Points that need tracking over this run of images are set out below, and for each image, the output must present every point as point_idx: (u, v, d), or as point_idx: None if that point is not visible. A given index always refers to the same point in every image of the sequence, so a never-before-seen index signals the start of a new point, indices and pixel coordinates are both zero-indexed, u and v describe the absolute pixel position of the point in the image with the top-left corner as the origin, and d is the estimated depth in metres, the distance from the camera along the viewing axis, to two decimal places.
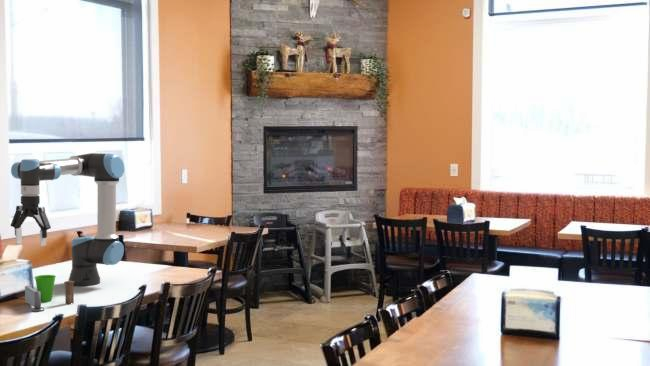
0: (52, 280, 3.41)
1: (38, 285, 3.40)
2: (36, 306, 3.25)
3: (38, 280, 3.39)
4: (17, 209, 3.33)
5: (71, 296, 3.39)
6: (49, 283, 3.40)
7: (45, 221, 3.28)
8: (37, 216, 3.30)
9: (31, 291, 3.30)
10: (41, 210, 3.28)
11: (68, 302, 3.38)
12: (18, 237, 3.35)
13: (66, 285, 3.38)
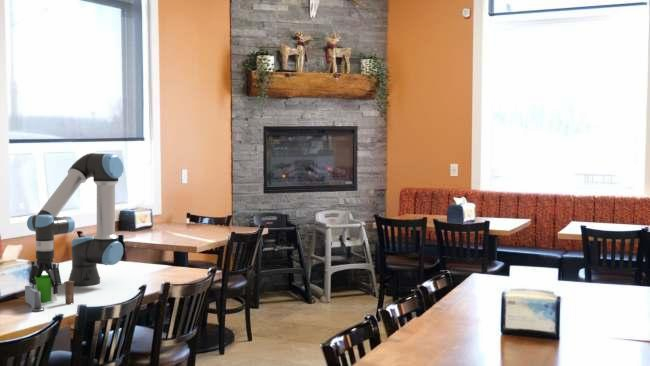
0: None
1: (38, 285, 3.40)
2: (36, 306, 3.25)
3: (38, 280, 3.39)
4: (32, 264, 3.44)
5: (71, 296, 3.39)
6: (49, 283, 3.40)
7: (57, 278, 3.39)
8: (50, 271, 3.41)
9: (31, 291, 3.30)
10: (55, 266, 3.39)
11: (68, 302, 3.38)
12: None
13: (66, 285, 3.38)
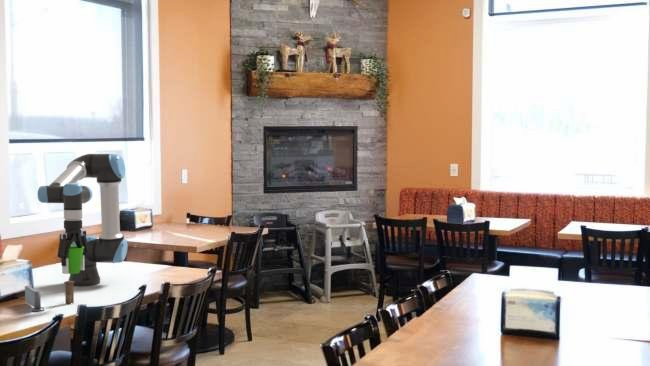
0: None
1: None
2: (36, 306, 3.25)
3: None
4: None
5: (71, 296, 3.39)
6: None
7: (59, 249, 3.23)
8: (66, 242, 3.27)
9: (31, 291, 3.30)
10: (60, 237, 3.24)
11: (68, 302, 3.38)
12: None
13: (66, 285, 3.38)
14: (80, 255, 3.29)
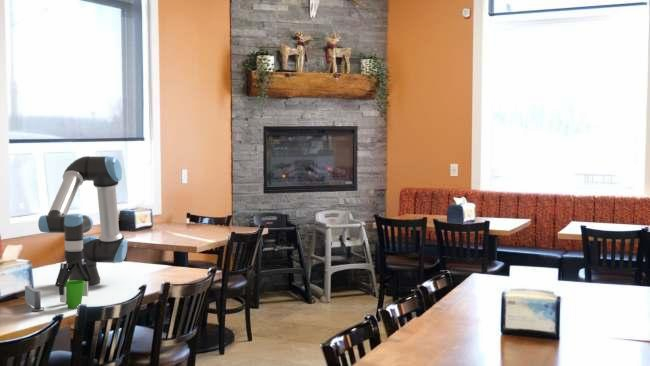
0: (67, 287, 3.28)
1: None
2: (36, 306, 3.25)
3: None
4: None
5: None
6: None
7: (58, 278, 3.23)
8: (66, 272, 3.27)
9: (31, 291, 3.30)
10: (61, 266, 3.25)
11: None
12: (83, 290, 3.37)
13: None
14: (81, 290, 3.30)
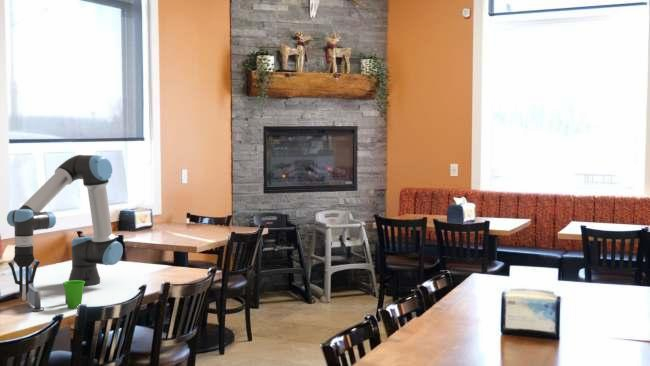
0: (67, 287, 3.28)
1: None
2: (36, 306, 3.25)
3: None
4: (11, 265, 3.29)
5: None
6: (65, 289, 3.29)
7: (34, 275, 3.34)
8: (28, 268, 3.33)
9: (32, 291, 3.30)
10: (38, 264, 3.34)
11: None
12: None
13: None
14: (81, 290, 3.30)
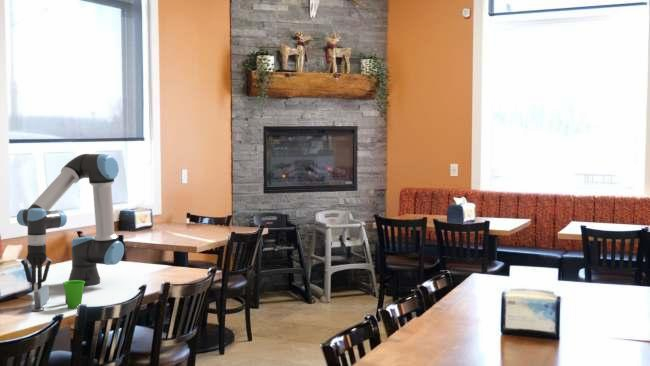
0: (67, 287, 3.28)
1: None
2: (35, 306, 3.25)
3: None
4: (24, 263, 3.33)
5: None
6: (65, 289, 3.29)
7: (46, 274, 3.35)
8: (41, 267, 3.35)
9: None
10: (49, 264, 3.35)
11: None
12: None
13: None
14: (81, 290, 3.30)
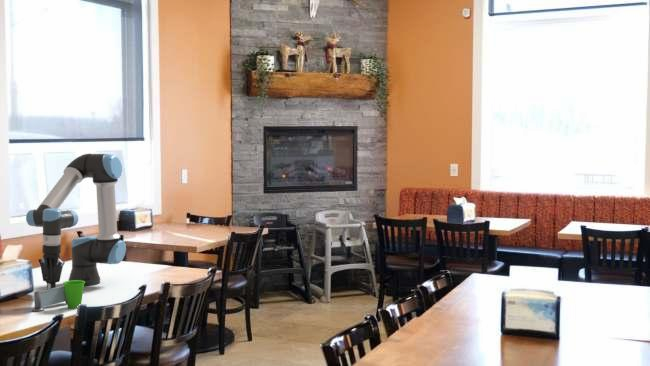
0: (67, 287, 3.28)
1: None
2: None
3: None
4: (40, 262, 3.36)
5: None
6: (65, 289, 3.29)
7: (57, 275, 3.34)
8: (54, 268, 3.35)
9: None
10: (60, 265, 3.32)
11: None
12: None
13: None
14: (81, 290, 3.30)
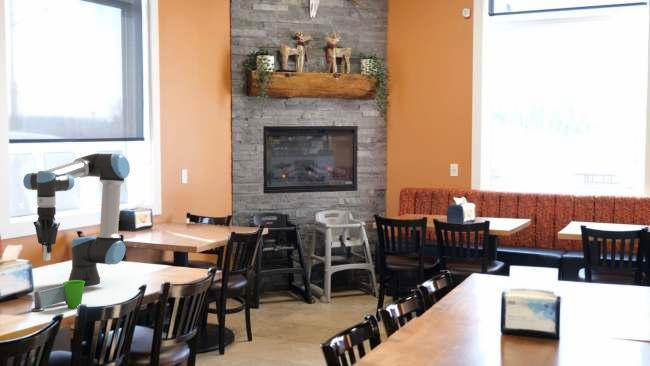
0: (67, 287, 3.28)
1: None
2: None
3: None
4: (35, 224, 3.36)
5: None
6: (66, 289, 3.29)
7: (53, 237, 3.34)
8: (49, 229, 3.35)
9: None
10: (55, 226, 3.33)
11: None
12: None
13: None
14: (81, 290, 3.30)
